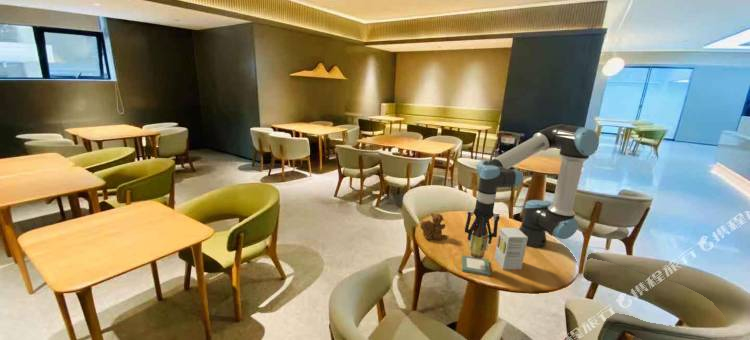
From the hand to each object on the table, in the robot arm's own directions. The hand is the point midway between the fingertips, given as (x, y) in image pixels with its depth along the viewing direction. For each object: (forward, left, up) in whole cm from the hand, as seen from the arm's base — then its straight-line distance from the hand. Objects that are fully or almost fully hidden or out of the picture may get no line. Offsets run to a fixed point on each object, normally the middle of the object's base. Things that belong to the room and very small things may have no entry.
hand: (478, 247), depth 140 cm
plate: (0, 0, -10) cm, 10 cm away
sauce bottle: (0, 0, -4) cm, 4 cm away
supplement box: (-15, -7, -10) cm, 19 cm away
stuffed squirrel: (+21, -22, -10) cm, 32 cm away
